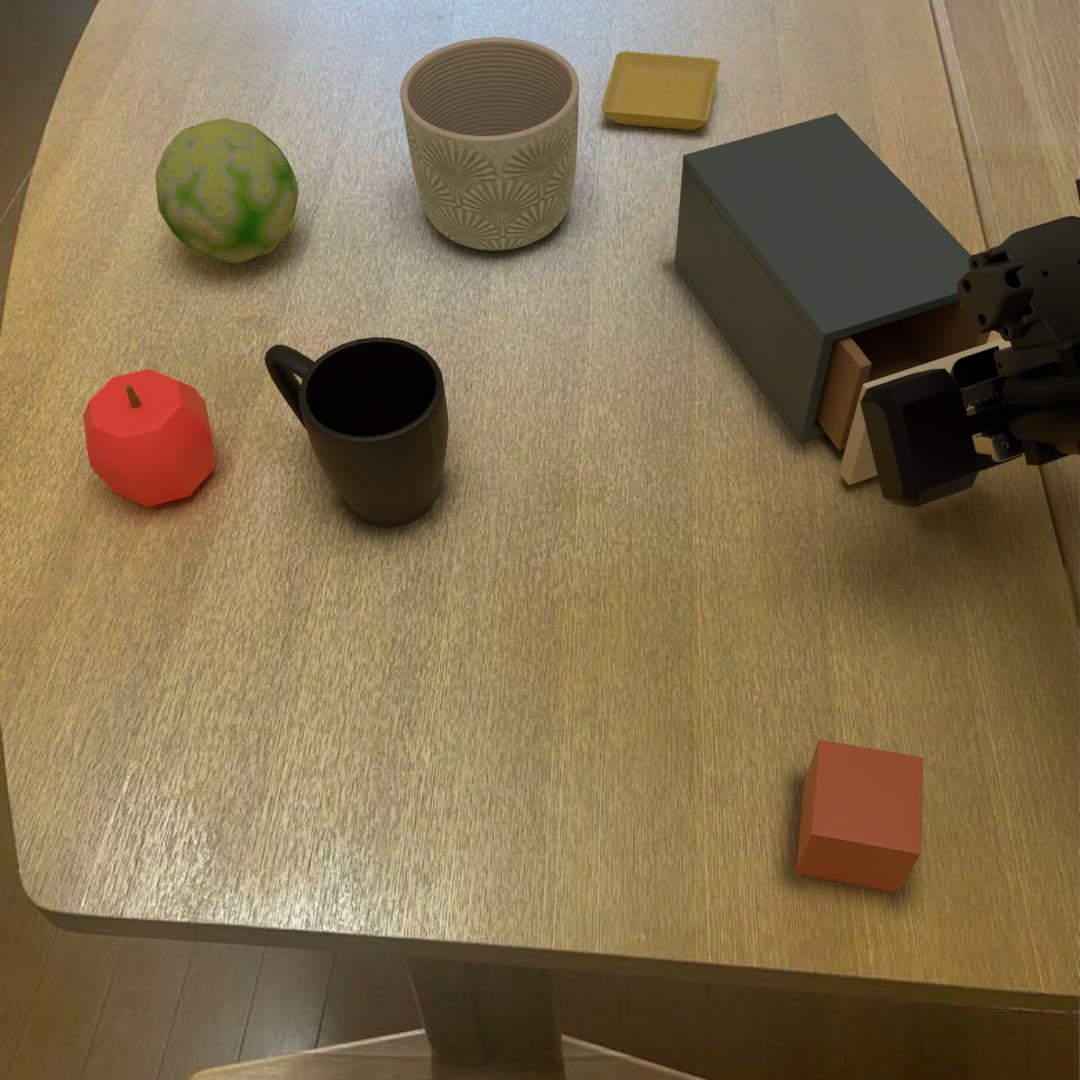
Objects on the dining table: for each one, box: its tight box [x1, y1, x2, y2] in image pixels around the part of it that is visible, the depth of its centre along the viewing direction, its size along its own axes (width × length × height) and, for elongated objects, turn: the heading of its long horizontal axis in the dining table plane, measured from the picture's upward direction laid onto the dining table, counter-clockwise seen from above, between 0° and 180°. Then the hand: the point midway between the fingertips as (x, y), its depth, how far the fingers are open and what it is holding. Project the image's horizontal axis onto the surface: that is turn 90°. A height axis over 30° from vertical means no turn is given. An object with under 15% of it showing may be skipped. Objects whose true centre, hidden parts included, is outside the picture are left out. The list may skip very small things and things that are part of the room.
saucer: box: [600, 50, 721, 131], centre depth 98 cm, size 9×9×2 cm
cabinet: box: [674, 112, 972, 445], centre depth 79 cm, size 19×12×10 cm, turn 22°
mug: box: [264, 336, 450, 528], centre depth 72 cm, size 8×12×10 cm
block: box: [795, 739, 924, 894], centre depth 58 cm, size 5×5×5 cm
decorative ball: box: [154, 117, 300, 264], centre depth 85 cm, size 10×10×10 cm
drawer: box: [816, 300, 1016, 486], centre depth 75 cm, size 22×10×8 cm, turn 22°
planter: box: [399, 36, 580, 252], centre depth 86 cm, size 12×12×11 cm
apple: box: [82, 368, 216, 508], centre depth 73 cm, size 8×8×8 cm
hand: (947, 398), depth 69 cm, fingers closed, pressing on drawer
